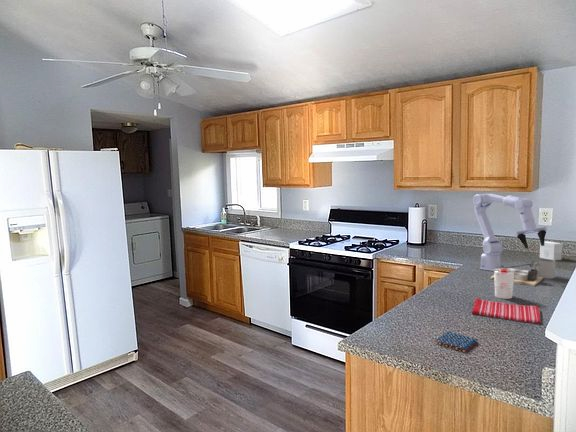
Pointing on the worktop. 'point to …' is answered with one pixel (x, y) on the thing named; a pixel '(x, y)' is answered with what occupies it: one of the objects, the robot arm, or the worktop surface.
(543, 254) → the skincare box
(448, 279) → the worktop surface
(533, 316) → the dish towel
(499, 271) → the canister
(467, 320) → the worktop surface
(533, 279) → the board
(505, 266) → the retention strap
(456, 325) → the worktop surface
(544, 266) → the cup
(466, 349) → the woven mat
